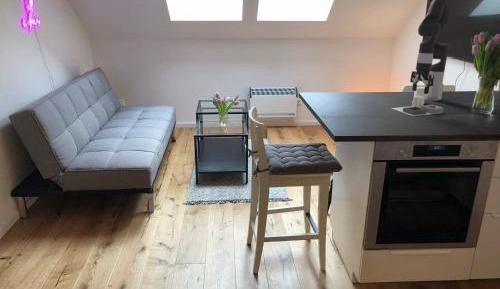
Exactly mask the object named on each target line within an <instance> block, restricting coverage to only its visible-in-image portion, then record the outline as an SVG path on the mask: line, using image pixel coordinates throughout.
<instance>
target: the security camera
mask: <svg viewBox="0 0 500 289" xmlns="http://www.w3.org/2000/svg"><path fill="white" fill-rule="evenodd" d="M424 88H425V86H417V90H416V91H413V93H414V94H413V97H414V96H422V97H425V100H426V101H428V100H427V97H428V94H424ZM411 103H412V104H413V100H412V101H411Z"/></svg>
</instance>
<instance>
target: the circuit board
mask: <svg viewBox="0 0 500 289" xmlns="http://www.w3.org/2000/svg"><path fill="white" fill-rule="evenodd" d="M406 107H407V106H402V107H401V106H400V107H391V108H390V109H392V110H395V111H398V112H400V113H403V114H405V115H409V116H412V117H415V116H416V117H417V116H427V115H434V114H435V115H436V114H443V113H444V107H442V106H439V105H434V104H425V105H422V106H420V108H422V109H425V110H426V114H417V115H412V114H409V113H406V112H403V108H406ZM410 107H412V105H411V106H410Z"/></svg>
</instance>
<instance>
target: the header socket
mask: <svg viewBox="0 0 500 289" xmlns="http://www.w3.org/2000/svg"><path fill="white" fill-rule="evenodd" d="M405 107H406V108H403V112H406V113H409V114H412V115H417V114H426V110H425V109H422V108H419V107H411V106H405ZM403 112H402V113H403ZM406 113H405V114H406ZM409 114H408V115H409Z"/></svg>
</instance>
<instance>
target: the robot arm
mask: <svg viewBox="0 0 500 289" xmlns="http://www.w3.org/2000/svg"><path fill="white" fill-rule="evenodd" d="M447 1H448V0H432V1H431V2H430V4H429V7H428V10H427V13H426V15H425V17H424V18H423V20H422V21H421V22H420V24H419V26H418V28H417V33H418V35H419V36H421V37H429V39H428V40H424V41H423V40H422V41H421V42H420V43H419V49H418V54H417V57H416V58H417V59H416V65H415V71H414V70H413V71H411V74H410V80H409V82H410V83H412V87H411V90H412V92H415V91H416V90H417V87H418V83H419V82H422V84H424V87H425V88H424V94H428V97H427V100H426V101H432V102H433V101H434V102H436V101H437V102H438V101H441V100H442V95H443V90H444V85H445V84H444V83H443V82H444V76H445V71H446V66H447V59H448V54H449V50H450V45H449V44H448V43H445V42H437V39H438V38H439V35H440V34H441V32H442V31H443V30H444V29H445V28H446V26H447V25H448V24H449V21H450V13H451V9H450V6H449V4H448V3H447ZM433 60H439V62H437V63H433Z"/></svg>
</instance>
